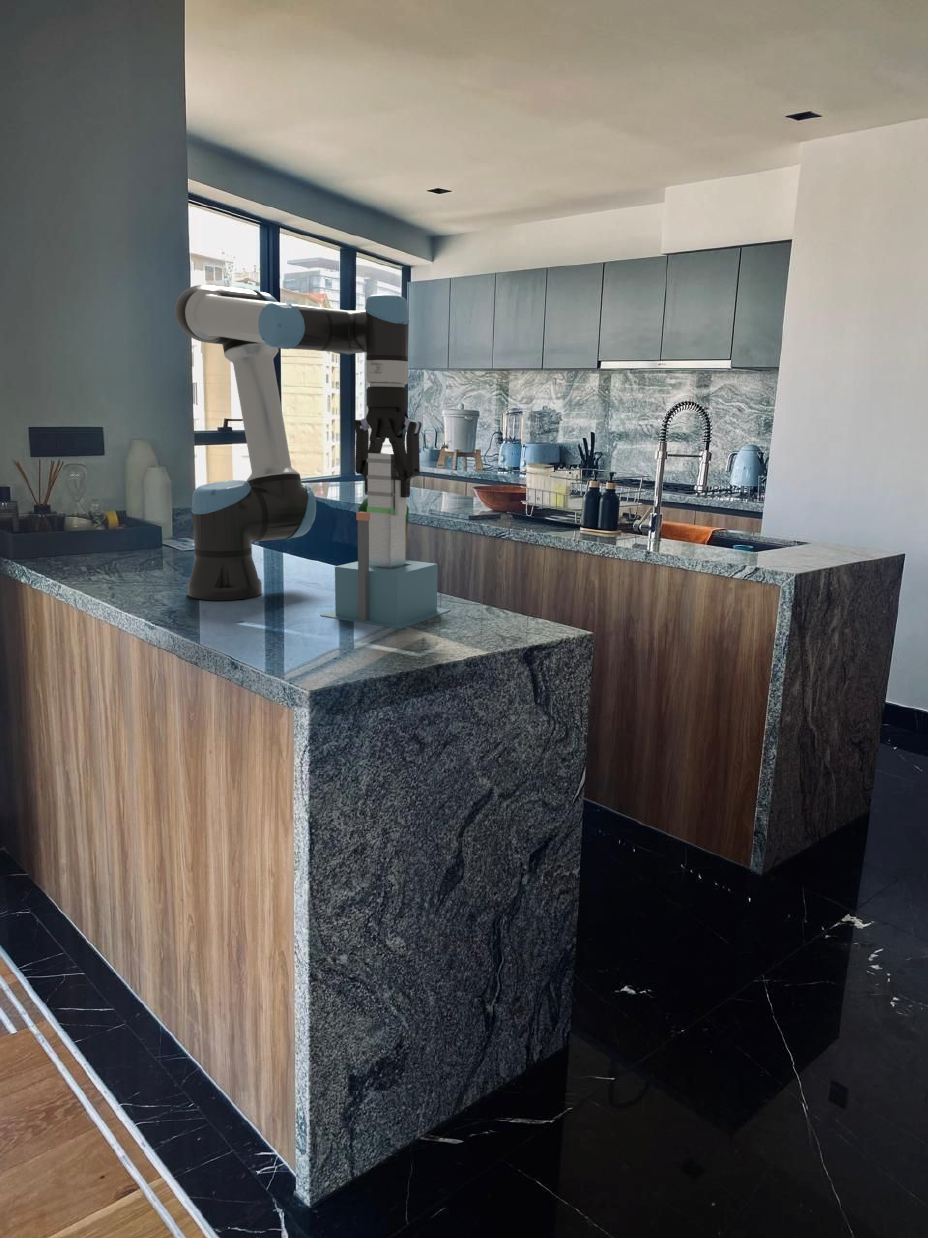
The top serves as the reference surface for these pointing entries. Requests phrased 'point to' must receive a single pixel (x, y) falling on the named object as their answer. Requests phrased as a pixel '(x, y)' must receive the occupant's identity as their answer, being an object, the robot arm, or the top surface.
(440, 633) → the top surface
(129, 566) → the top surface
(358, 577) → the stand base
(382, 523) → the column
